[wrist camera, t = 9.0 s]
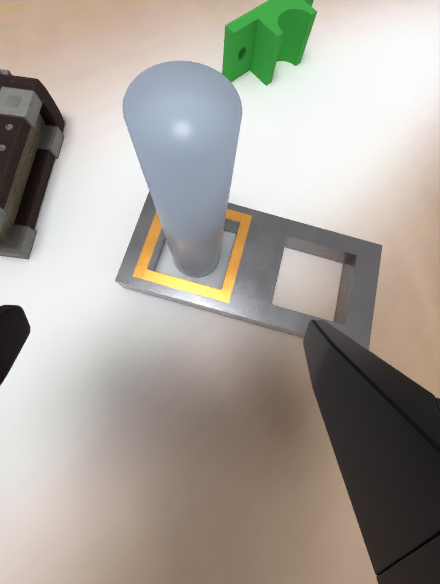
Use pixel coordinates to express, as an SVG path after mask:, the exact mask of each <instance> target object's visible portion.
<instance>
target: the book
mask: <svg viewBox="0 0 440 584" xmlns="http://www.w3.org/2000/svg"><path fill="white" fill-rule="evenodd" d="M63 126H64V120H63V117H62V115H61V113H60V111H59V109H58V107H57V105H56V104H55V102H54V100H53V99H52V97H51V96H50V94H49V92H48V91H47V89H46V88H45V87H44V85H43V84H42V83H41V82H40V81H39V80H38V79H34V78H27V77H20V76H13V75H12V74H11V73H10V71H9V70H2V69H0V256H7V257H16V258H24V259H29V255H30V252H31V248H32V245H33V242H34V238H35V235H36V231H34V230H33V228H34V224H35V221H36V217H37V214H38V211H39V207H40V204H41V200H42V197H43V194H44V190H45V187H46V183H47V180H48V177H49V173H50V170H51V166H52V163H53V160H54V158H58V155H59V152H60V148H61V145H62V142H63V138H64V135H63V133H62V129H63Z"/></svg>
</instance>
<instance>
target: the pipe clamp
mask: <svg viewBox="0 0 440 584" xmlns="http://www.w3.org/2000/svg"><path fill="white" fill-rule="evenodd" d="M312 4H313V0H268V1H267V2H265V3H263V4H261V5H260V6H258V7H256V8H255V9H253V10H251V11H249V12H248V13H246V14H244V15H242V16H241V17H239V18H237V19H236V20H234V21H232V22H230V23H229V24H227V25H225V39H224V55H223V71H222V75H224V76H225V77H226V78H227V79H228V80H229V81H230V82H232V81H234V80H235V79H237V78H238V77H240V76H241V75H243V74H244V73H246V72H248V71H249V70H250V71H251V72H252V73H253V74H254V75H255V76H257V77H258V78H259V79H260V80H261V81H262V82H263V83H264V84H265V85H268V84H269V83H271V81H272V77H273V73H274V69H275V65H276V61H287V62H290V63H292V64H293V65H295V66H296V65H298V64H299V63H300V62H301V59H302V56H303V53H304V50H305V47H306V44H307V41H308V38H309V35H310V32H311V29H312V26H313V23H314V20H315V17H316V14H317V11H316V10H315V9H314V8H312Z"/></svg>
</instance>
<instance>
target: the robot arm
mask: <svg viewBox="0 0 440 584" xmlns="http://www.w3.org/2000/svg"><path fill="white" fill-rule="evenodd" d="M29 334H30V325H29V322H28V320H27V318H26V315H25V313H24V310H23V308H22V307H20V306H18V305H3V306H0V385H1V384H2V382H3V381H4V379H5V378H6V376H7V374H8V373H9V371H10V369H11V367H12V365H13V363H14V362H15V360H16V358H17V356H18V354H19V352H20V351H21V349H22V347H23V345H24V343H25V341H26V340H27V338H28V336H29ZM303 345H304V350H305V355H306V359H307V364H308V369H309V373H310V378H311V382H312V387H313V390H314V393H315V396H316V399H317V402H318V405H319V408H320V411H321V414H322V417H323V420H324V423H325V426H326V429H327V432H328V435H329V438H330V441H331V444H332V447H333V450H334V453H335V456H336V459H337V462H338V465H339V468H340V471H341V474H342V477H343V480H344V482H345V485H346V488H347V491H348V494H349V497H350V500H351V503H352V506H353V509H354V512H355V515H356V518H357V521H358V524H359V527H360V530H361V533H362V536H363V539H364V542H365V545H366V548H367V551H368V554H369V557H370V560H371V563H372V566H373V569H374V571H375V574H376V575H377V577H376V578H377V581H378V584H440V399H439V398H435V396H434V395H433V394H432V393H430V392H429V391H427V390H426V389H424V388H423V387H421V386H420V385H419V384H417V383H416V382H414V381H413V380H411V379H410V378H408V377H407V376H405V375H404V374H402V373H401V372H399V371H398V370H397V369H395V368H394V367H392V366H391V365H389V364H388V363H386V362H385V361H383V360H382V359H380V358H379V357H378V356H376V355H375V354H373V353H372V352H370V351H369V350H367V349H366V348H364V347H363V346H361V345H360V344H358V343H357V342H356V341H354V340H353V339H351V338H350V337H348V336H347V335H345V334H344V333H342V332H341V331H339V330H338V329H336V328H335V327H334V326H332V325H331V324H329V323H328V322H326V321H325V320H319V319H312V320H310V321H309V323H308V326H307V330H306V333H305V336H304V340H303Z"/></svg>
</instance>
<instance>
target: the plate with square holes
mask: <svg viewBox="0 0 440 584" xmlns="http://www.w3.org/2000/svg"><path fill="white" fill-rule="evenodd" d="M224 230H226V231H230V232H233V233H237V236H236V240H235V243H234V247H233V250H232V254H231V258H230V261H229V265H228V268H227V272H226V276H225V279H224V283H223V286H222V290H219V289H215V288H212V287H208V286H205V285H201V284H197V283H194V282H190V281H187V280H183V279H179V278H176V277H172V276H169V275H165V274H161V273H158V272H154V270H155V267H156V264H157V261H158V258H159V256H160V253H161V250H162V247H163V244H164V241H165V238H166V237H165V234H164V231H163V228H162V225H161V222H160V220H159V217H158V214H157V211H156V208H155V205H154V202H153V200H152V197H151V194H150V191H149V194H148V196H147V199H146V201H145V204H144V207H143V209H142V212H141V214H140V217H139V220H138V222H137V225H136V227H135V230H134V233H133V235H132V238H131V241H130V243H129V246H128V248H127V251H126V254H125V256H124V259H123V261H122V264H121V267H120V269H119V272H118V275H117V277H116V280H115V281H116V282H117V283H118V284H120V285H121V286H122V287H124V288H128V289H131V290H135V291H139V292H142V293H146V294H149V295H153V296H156V297H160V298H164V299H167V300H171V301H174V302H178V303H182V304H185V305H189V306H192V307H196V308H200V309H203V310H207V311H210V312H214V313H217V314H221V315H225V316H228V317H232V318H235V319H239V320H243V321H246V322H250V323H253V324H257V325H261V326H264V327H268V328H271V329H275V330H279V331H282V332H286V333H289V334H293V335H296V336H300V337H304V336H305V333H306V330H307V326H308V323H309V321H310V320H312V319H319V320H325V319H321V318H317V317H314V316H310V315H307V314H303V313H299V312H296V311H292V310H289V309H285V308H281V307H278V306H274V305H271V303H272V298H273V294H274V290H275V285H276V281H277V276H278V272H279V268H280V263H281V259H282V255H283V250H284V247H288V248H291V249H295V250H298V251H302V252H306V253H309V254H313V255H316V256H320V257H324V258H327V259H331V260H334V261H338V262H342V263H344V265H343V271H342V277H341V283H340V289H339V295H338V301H337V307H336V313H335V319H334V322H332V321H328V320H325V321H326V322H328V323H329V324H331V325H332V326H334V327H335V328H336V329H338V330H339V331H341V332H342V333H344V334H345V335H347V336H348V337H350V338H351V339H353V340H354V341H356V342H357V343H358V344H360V345H361V346H363V347H364V348H366V349H367V350H369V343H370V335H371V328H372V320H373V312H374V305H375V297H376V289H377V282H378V274H379V266H380V259H381V251H382V245H379V244H376V243H372V242H368V241H365V240H361V239H358V238H354V237H350V236H347V235H343V234H339V233H336V232H332V231H329V230H325V229H321V228H318V227H314V226H311V225H307V224H303V223H300V222H296V221H293V220H289V219H285V218H282V217H278V216H275V215H271V214H267V213H264V212H260V211H257V210H253V209H249V208H246V207H242V206H238V205H235V204H231V203H228V205H227V211H226V218H225V224H224Z"/></svg>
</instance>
